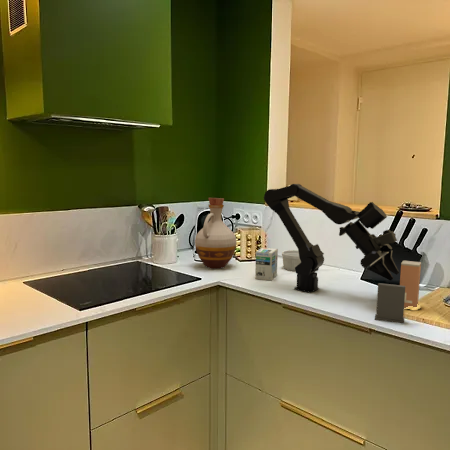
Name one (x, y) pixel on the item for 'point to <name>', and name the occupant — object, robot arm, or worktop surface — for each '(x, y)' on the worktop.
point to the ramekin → (291, 259)
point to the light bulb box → (266, 263)
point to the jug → (215, 238)
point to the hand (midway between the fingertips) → (395, 276)
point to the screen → (390, 303)
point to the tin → (410, 282)
